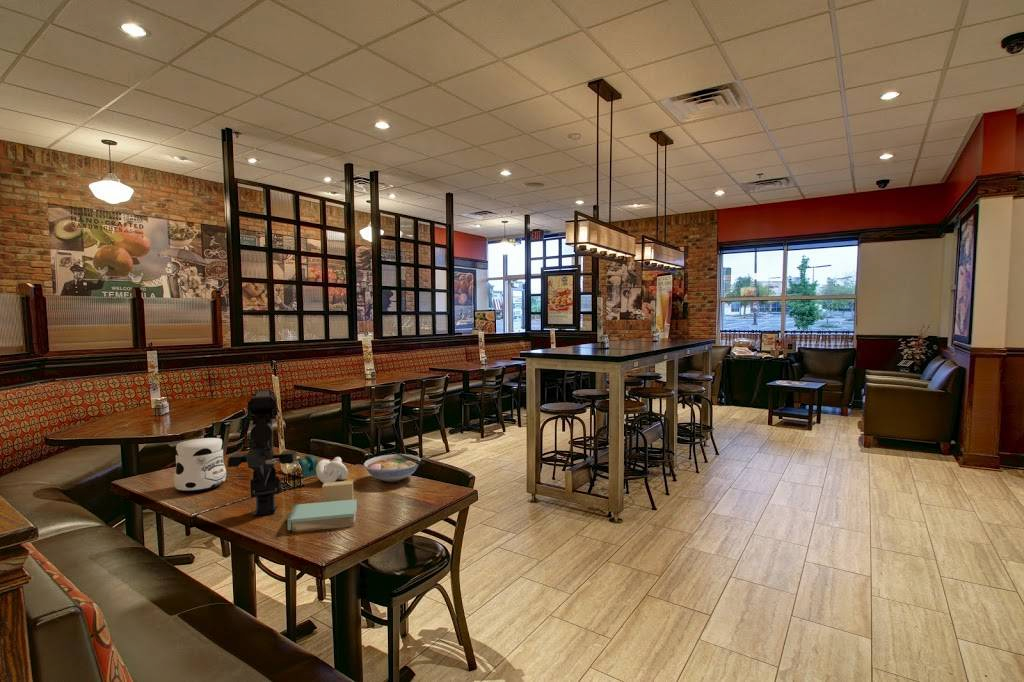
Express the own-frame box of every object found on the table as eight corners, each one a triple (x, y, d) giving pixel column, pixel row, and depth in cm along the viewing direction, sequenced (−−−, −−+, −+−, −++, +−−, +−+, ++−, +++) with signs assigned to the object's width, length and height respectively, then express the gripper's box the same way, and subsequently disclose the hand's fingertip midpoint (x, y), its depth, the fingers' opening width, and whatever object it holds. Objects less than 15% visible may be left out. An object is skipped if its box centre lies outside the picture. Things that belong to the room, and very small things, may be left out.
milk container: (224, 491, 186) (222, 444, 185) (169, 498, 178) (168, 449, 178) (228, 478, 201) (227, 435, 201) (178, 484, 194) (177, 440, 194)
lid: (295, 514, 160) (295, 504, 160) (357, 508, 165) (356, 499, 165) (287, 530, 148) (287, 519, 148) (354, 523, 152) (354, 513, 152)
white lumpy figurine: (316, 478, 201) (316, 456, 201) (347, 475, 205) (346, 453, 205) (316, 486, 190) (315, 464, 190) (348, 483, 195) (348, 460, 194)
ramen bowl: (354, 477, 202) (353, 458, 201) (404, 467, 216) (404, 448, 215) (378, 493, 182) (378, 472, 182) (432, 481, 196) (432, 461, 196)
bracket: (317, 474, 207) (317, 456, 207) (304, 478, 201) (303, 459, 201) (291, 468, 216) (290, 450, 216) (277, 472, 210) (276, 454, 210)
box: (300, 516, 161) (299, 507, 160) (356, 510, 165) (356, 502, 165) (292, 532, 148) (292, 522, 148) (354, 526, 152) (354, 516, 152)
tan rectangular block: (324, 502, 174) (323, 482, 173) (353, 499, 176) (353, 480, 176) (322, 506, 170) (322, 486, 170) (352, 503, 172) (352, 483, 172)
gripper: (219, 443, 142) (220, 496, 142) (288, 440, 146) (289, 492, 146) (233, 435, 153) (234, 484, 153) (296, 432, 156) (297, 480, 157)
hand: (263, 485), depth 152 cm, fingers closed
